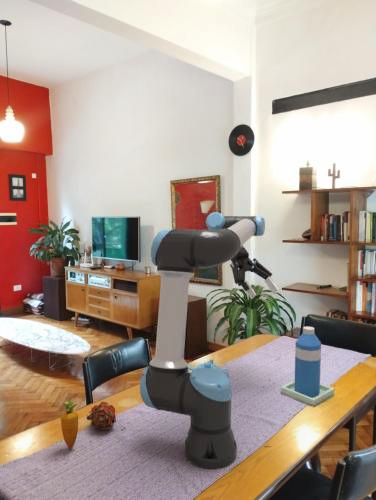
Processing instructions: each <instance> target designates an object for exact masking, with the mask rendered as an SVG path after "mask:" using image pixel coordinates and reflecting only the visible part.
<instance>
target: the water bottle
mask: <svg viewBox="0 0 376 500" xmlns="http://www.w3.org/2000/svg"><path fill="white" fill-rule="evenodd" d="M294 351H295V353H294V358H295V359H294V381H295V387H294V391H296V392H298V393H301V394H303V395H306V396H308V397H311V398H313V397H316V396H318V395H319V393H320V384H321V362H322V361H321V360H322V358H321V357H322V354H321V353H322V342H321V340H319V338H318V336H317V335H316V333H315V327H313V326H303V327H302V333H301V335H300V336H299V337H298V338H297V340H296V341H295V350H294Z"/></svg>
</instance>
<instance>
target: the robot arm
mask: <svg viewBox="0 0 376 500" xmlns="http://www.w3.org/2000/svg"><path fill="white" fill-rule="evenodd" d="M265 221H266V220H265V218H264V216H258V215H252V216H251V215H249V216H248V215H246V216H245V215H244V216H242V215H241V216H238V215H235V216H234V215H233V216H232V215H223V214H222V213H220V212H218V211H216V212H215V211H214V212H211V213H209V215H208V216H207V217H206V220H205V225H206V227H207V229H194V228H193V229H187V228H185V229H184V228H171V229H169V228H168V229H162V230H160V231H159V232H157V234H156V235H155V236H154V238H153V241H152V243H151V247H150V258H151V262H152V264H153V265H154V266H155V267H156V273H158V275H159V276H160V290H159V291H160V292H159V302H158V303H159V304H158V314H157V315H158V317H157V328H156V341H155V354H154V355H155V356H154V358H152V359H151V360H150V361H149V365H148V366H147V367H145V368H144V369H143V371H142V373H141V374H142V376H141V377H140V381H139V393H140V397H141V400H142V402H143V403H144V405H145V406H147V407H148V408H152V409H155V410H157V411H165V412H168V413H169V412H170V413H173V414H179V415H184V416H188V417H190V419H189V421H190V425H189V429H188V431H187V435H186V438H185V441H184V446H183V449H184V453H183V454H184V457H186V459H187V460H188V461H189V463H191V464H193V465H195V466H197V467H200V468H203V469H204V468H205V469H219V468H224V467H227V466H229V465H230V464H232V463H233V462H234V461H235V460H236V458H237V456H238V455H237V453H238V449H237V448H238V446H237V441H236V440H235V435H234V432H233V429H232V398H233V393H232V383H231V380H230V377H229V378H228V377H227V374H226V373H224V372H221V371H219V370H216V369H212V368H197V369H194V370H193V371H192V370H191V372H189V369H188V366H189V364H188V362H187V361H186V360H185V359H184V357H185V345H186V344H185V342H186V330H187V329H186V328H187V317H188V316H187V314H188V301H189V287H190V279H192V277H193V276H194V275H195V273H196V272H195V271H196V269H210V268H214V267H217V266H220V265H223V264H225V263H227V262H229V261H230V262H231V263H230V264H229V267H230V269H231V271H232V275H233V280H234V283H235V285H237V286H239V287H242V289H243V290H244V291H245V292H246V293H247V295H248V297H249V299H250V300H253V299H254V298H255V297H256V296H257V292H255V290H254V289H253V287H252V286H251V284H250V283H249V281H248V280H246V272H251V273H254V274H255V275H258V276H259V277H260V278H262V279H263V280H264V283H265V284H266V285H267V287H268V288H269V290H270V292H272V294H273V295H275V294H276V293H277V292H278V291H279V288H278V286H277V285H276V283H275V282H274V280H273V279H272V276H273V273H272V272H271V271H270V270H269V269H267V268H266V267H265V266H264V265H262V263H260V262H259V261H258V260H257V259H256V258H253V259H251V258H250V257H249V256H250V253H249V252H248V251H247V249H246V247H244V244H245V243H247V242H248V241H249V240H250V239H251V238H252V237H258V236H259V237H261V236H264V234H265V230H266V222H265Z"/></svg>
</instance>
